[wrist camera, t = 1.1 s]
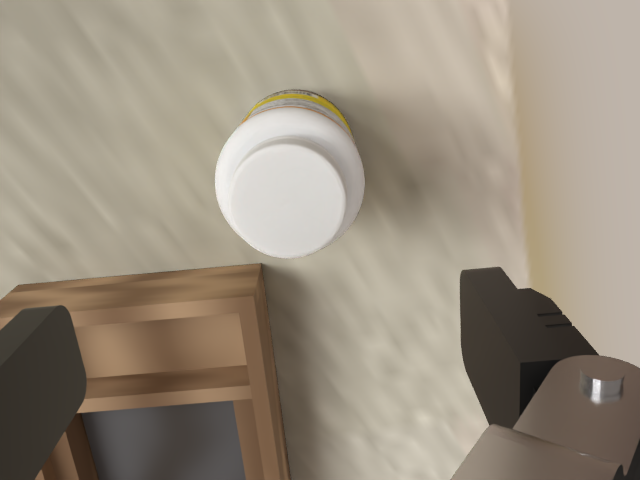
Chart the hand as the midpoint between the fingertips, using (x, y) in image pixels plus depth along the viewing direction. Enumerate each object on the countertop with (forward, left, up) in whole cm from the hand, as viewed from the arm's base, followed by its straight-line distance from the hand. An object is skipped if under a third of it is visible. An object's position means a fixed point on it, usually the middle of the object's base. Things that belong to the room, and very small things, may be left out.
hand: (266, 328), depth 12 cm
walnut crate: (-9, -14, -18) cm, 24 cm away
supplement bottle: (0, 0, -18) cm, 18 cm away
